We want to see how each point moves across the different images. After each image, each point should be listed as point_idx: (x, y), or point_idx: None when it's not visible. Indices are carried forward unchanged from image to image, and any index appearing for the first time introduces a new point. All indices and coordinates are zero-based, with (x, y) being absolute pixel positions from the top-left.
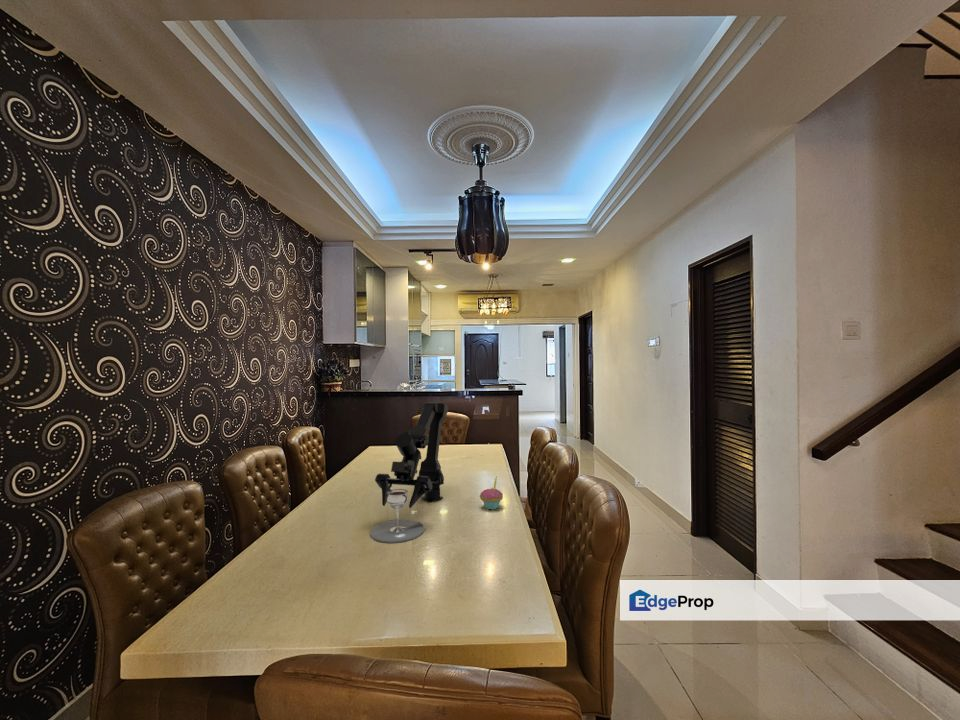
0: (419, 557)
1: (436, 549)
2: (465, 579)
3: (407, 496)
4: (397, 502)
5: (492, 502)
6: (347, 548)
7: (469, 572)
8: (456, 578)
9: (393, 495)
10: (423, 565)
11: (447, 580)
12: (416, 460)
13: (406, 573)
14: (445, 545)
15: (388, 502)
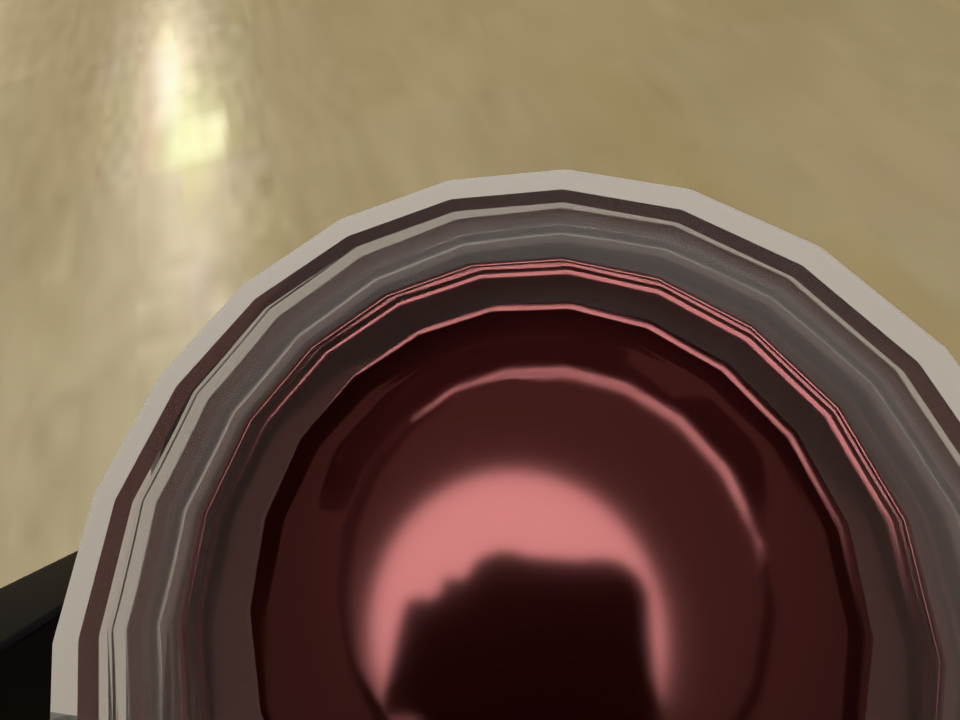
0: (256, 170)
1: (159, 287)
2: (32, 59)
3: (197, 643)
4: (430, 313)
5: None
6: (837, 152)
7: (6, 109)
8: (68, 54)
9: (506, 184)
10: (222, 103)
11: (107, 32)
12: None
13: (296, 23)
14: (99, 356)
15: (687, 341)
